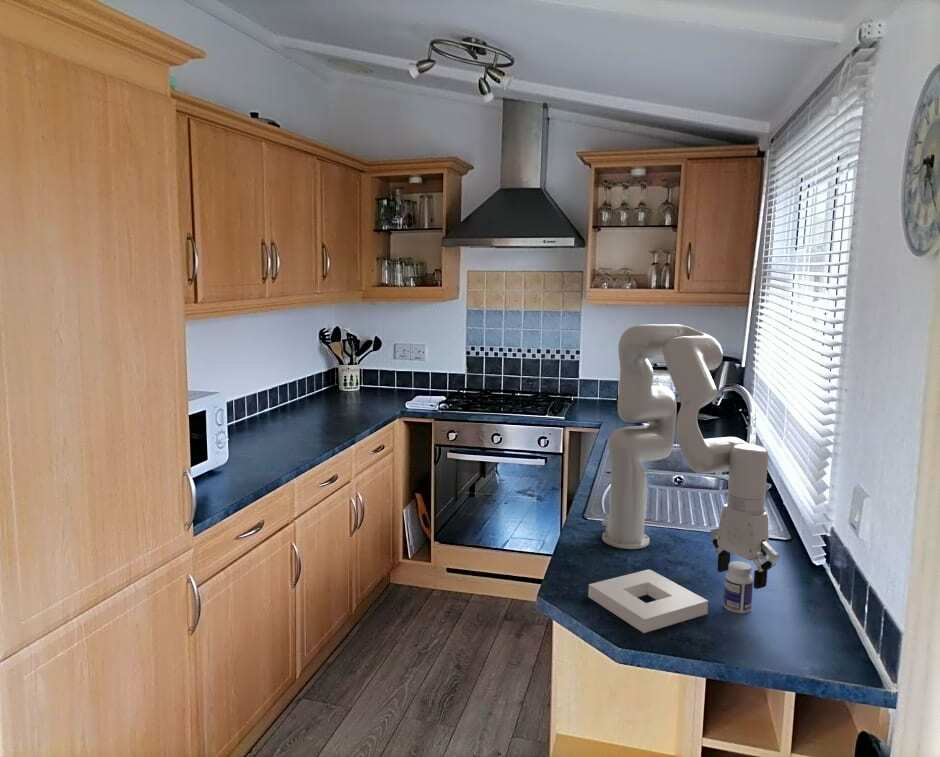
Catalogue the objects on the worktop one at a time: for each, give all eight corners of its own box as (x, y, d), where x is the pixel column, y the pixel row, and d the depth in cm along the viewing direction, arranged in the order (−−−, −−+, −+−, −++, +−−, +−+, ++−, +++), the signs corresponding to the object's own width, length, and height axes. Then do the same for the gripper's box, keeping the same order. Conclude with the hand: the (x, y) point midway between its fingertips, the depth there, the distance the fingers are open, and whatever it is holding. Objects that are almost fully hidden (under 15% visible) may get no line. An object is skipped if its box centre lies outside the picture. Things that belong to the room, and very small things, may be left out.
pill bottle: (744, 602, 158) (747, 559, 157) (755, 614, 152) (759, 570, 151) (718, 602, 158) (722, 559, 156) (729, 614, 152) (732, 570, 151)
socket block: (588, 596, 159) (588, 584, 159) (648, 581, 168) (649, 569, 167) (643, 633, 144) (644, 619, 143) (707, 613, 152) (708, 600, 152)
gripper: (702, 494, 157) (698, 568, 159) (768, 517, 142) (762, 598, 144) (726, 489, 161) (721, 562, 163) (792, 511, 146) (787, 590, 148)
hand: (741, 578), depth 154 cm, fingers open, 9 cm apart
